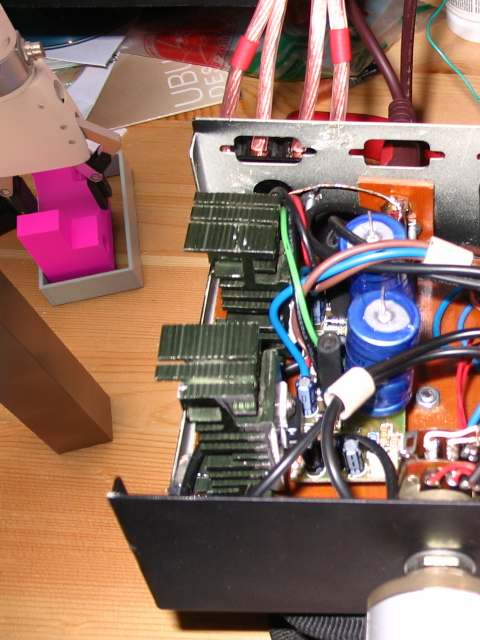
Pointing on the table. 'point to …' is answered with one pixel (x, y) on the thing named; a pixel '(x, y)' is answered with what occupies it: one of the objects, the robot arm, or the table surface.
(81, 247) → the toy block
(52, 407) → the brown wooden bar
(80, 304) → the table surface
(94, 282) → the grey hollow rectangular frame
